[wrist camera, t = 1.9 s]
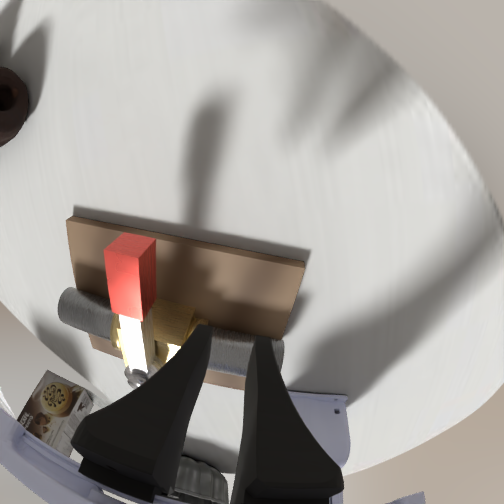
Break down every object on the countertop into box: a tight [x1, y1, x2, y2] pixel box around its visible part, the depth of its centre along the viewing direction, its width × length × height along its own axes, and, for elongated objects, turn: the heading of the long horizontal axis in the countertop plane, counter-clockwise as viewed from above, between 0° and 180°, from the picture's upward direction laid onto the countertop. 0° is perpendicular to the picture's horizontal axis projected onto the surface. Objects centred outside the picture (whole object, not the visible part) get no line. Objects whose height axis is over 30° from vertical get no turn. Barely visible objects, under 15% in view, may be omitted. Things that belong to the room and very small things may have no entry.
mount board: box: [66, 216, 305, 391], centre depth 23 cm, size 20×16×1 cm
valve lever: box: [104, 232, 164, 389], centre depth 15 cm, size 12×3×3 cm, turn 170°
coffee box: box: [17, 370, 93, 457], centre depth 28 cm, size 9×6×16 cm
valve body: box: [58, 287, 284, 377], centre depth 21 cm, size 20×5×5 cm, turn 80°
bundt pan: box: [161, 456, 229, 504], centre depth 41 cm, size 26×26×10 cm
